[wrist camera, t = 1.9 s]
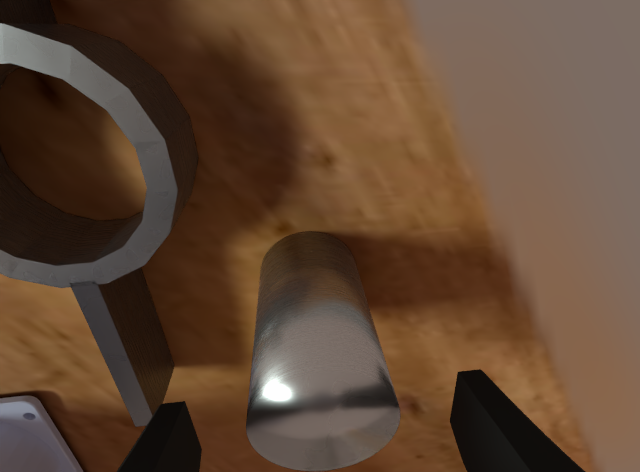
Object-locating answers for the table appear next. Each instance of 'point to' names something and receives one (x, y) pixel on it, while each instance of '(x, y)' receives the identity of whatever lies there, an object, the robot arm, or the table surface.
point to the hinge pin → (317, 360)
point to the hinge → (112, 235)
